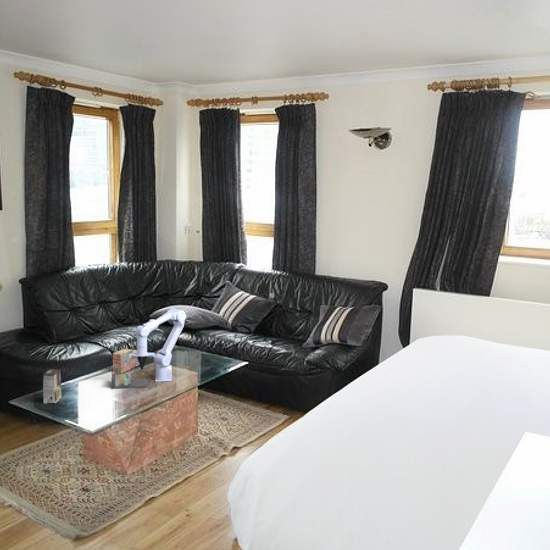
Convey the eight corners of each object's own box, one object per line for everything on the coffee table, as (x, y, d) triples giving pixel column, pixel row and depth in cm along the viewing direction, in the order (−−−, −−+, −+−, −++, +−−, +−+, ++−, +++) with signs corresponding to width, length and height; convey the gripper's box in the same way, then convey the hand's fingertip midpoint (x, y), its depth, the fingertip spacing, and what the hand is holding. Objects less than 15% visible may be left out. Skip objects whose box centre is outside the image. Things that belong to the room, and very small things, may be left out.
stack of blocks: (133, 363, 388) (133, 345, 386) (141, 364, 386) (141, 346, 384) (112, 372, 369) (112, 353, 367) (120, 373, 366) (120, 354, 364)
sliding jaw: (130, 379, 351) (130, 371, 351) (130, 385, 342) (130, 376, 341) (124, 380, 351) (124, 371, 350) (124, 385, 341) (124, 376, 340)
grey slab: (146, 380, 355) (146, 371, 354) (147, 387, 343) (147, 378, 342) (112, 382, 350) (112, 373, 349) (111, 388, 338) (111, 379, 338)
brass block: (124, 381, 349) (124, 373, 349) (124, 385, 343) (124, 377, 342) (119, 381, 349) (119, 374, 348) (118, 385, 342) (118, 377, 341)
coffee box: (50, 397, 322) (49, 368, 319) (61, 398, 322) (61, 369, 319) (43, 403, 313) (42, 374, 310) (55, 404, 313) (54, 374, 310)
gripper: (154, 344, 350) (154, 366, 352) (129, 344, 347) (129, 367, 349) (154, 347, 344) (154, 369, 346) (129, 348, 340) (129, 370, 342)
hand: (141, 368), depth 347 cm, fingers closed
